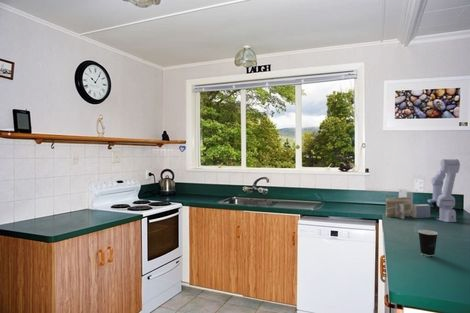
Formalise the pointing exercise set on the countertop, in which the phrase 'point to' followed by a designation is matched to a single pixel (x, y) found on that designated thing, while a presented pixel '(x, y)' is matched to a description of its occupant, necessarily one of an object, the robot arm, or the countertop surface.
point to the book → (421, 211)
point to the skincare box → (406, 195)
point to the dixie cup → (427, 241)
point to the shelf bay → (398, 207)
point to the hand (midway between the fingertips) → (436, 211)
